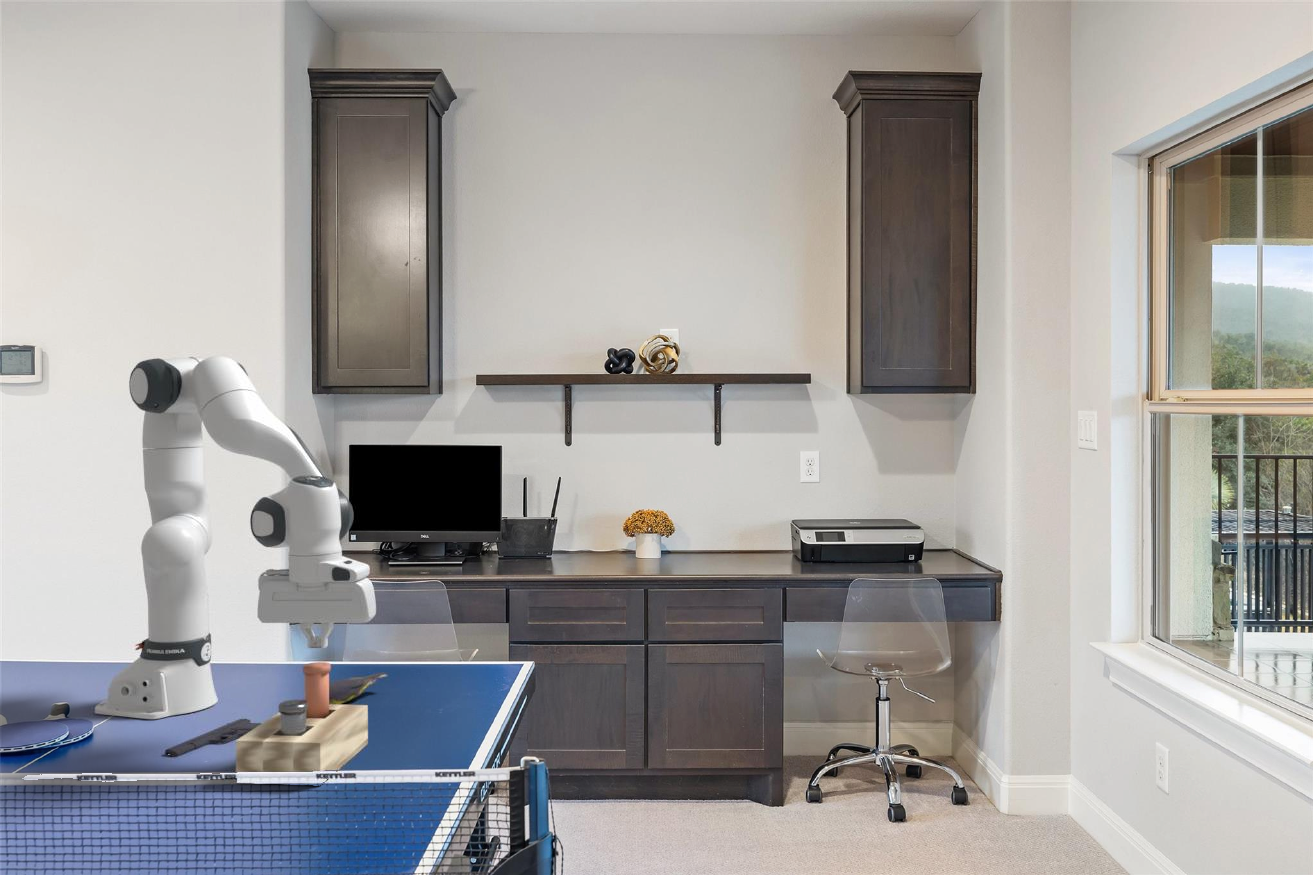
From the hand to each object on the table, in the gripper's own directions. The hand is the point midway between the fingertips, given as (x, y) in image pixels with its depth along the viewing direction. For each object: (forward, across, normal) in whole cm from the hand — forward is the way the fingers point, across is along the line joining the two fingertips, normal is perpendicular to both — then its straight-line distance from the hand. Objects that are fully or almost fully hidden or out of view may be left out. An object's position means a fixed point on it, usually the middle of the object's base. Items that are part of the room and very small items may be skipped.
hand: (317, 647), depth 165 cm
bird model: (+19, -8, +29) cm, 36 cm away
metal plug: (+17, -1, -9) cm, 19 cm away
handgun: (+19, -19, +4) cm, 27 cm away
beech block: (+19, 0, -5) cm, 19 cm away
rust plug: (+13, 0, 0) cm, 13 cm away
